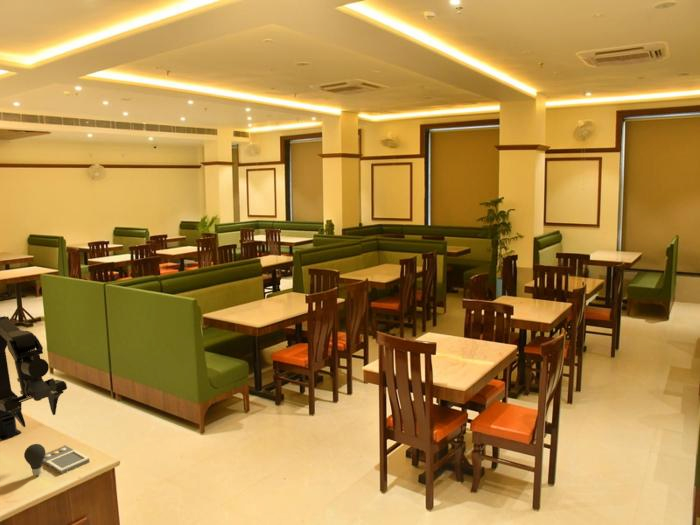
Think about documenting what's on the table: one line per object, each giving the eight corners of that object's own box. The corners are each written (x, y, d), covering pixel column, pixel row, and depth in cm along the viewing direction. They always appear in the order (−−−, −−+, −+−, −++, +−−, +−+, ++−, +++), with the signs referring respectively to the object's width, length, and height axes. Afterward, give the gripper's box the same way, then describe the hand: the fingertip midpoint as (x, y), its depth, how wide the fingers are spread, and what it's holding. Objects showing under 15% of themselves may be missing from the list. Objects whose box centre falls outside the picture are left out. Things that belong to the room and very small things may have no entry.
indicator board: (37, 459, 184) (37, 455, 184) (65, 448, 191) (65, 444, 191) (61, 474, 175) (60, 470, 175) (89, 461, 182) (89, 457, 182)
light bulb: (38, 481, 172) (35, 450, 170) (22, 479, 173) (18, 448, 171) (52, 471, 177) (48, 441, 175) (36, 469, 178) (32, 439, 176)
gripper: (7, 387, 167) (19, 437, 169) (70, 365, 181) (80, 412, 183) (-9, 383, 174) (3, 431, 176) (53, 362, 188) (64, 407, 190)
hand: (39, 420), depth 181 cm, fingers open, 9 cm apart
